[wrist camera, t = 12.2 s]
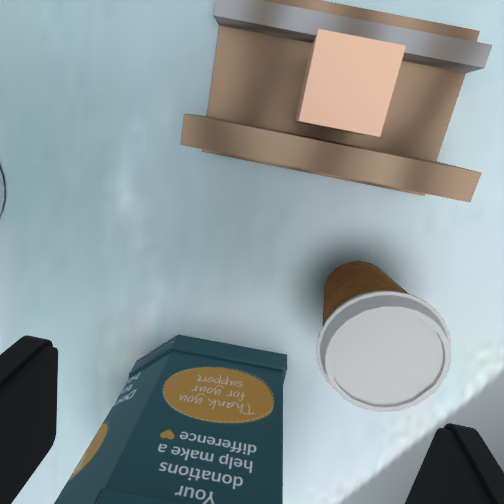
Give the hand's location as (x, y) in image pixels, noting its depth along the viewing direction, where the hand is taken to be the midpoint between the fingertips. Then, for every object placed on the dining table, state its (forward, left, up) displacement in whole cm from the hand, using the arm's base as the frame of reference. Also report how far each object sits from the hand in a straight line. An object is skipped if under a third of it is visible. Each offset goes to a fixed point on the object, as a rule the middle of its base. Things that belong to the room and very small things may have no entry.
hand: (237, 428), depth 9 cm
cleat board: (+3, +10, -28) cm, 30 cm away
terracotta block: (+3, +10, -27) cm, 29 cm away
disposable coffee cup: (+10, -7, -28) cm, 31 cm away
